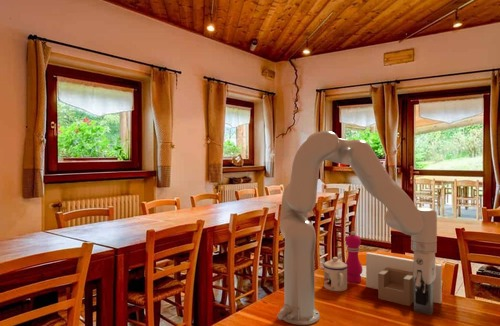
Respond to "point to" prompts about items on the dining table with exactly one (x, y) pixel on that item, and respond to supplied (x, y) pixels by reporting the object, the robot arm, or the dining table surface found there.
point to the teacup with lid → (335, 275)
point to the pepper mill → (353, 258)
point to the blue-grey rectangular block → (429, 307)
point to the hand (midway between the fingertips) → (423, 300)
